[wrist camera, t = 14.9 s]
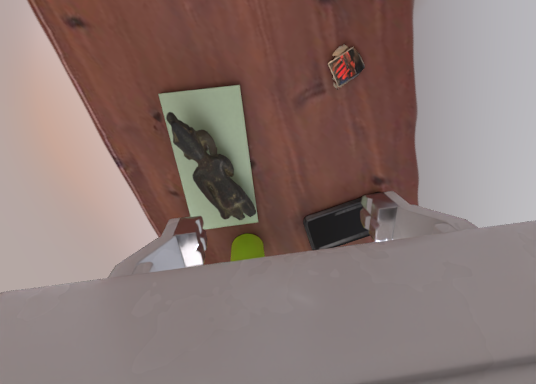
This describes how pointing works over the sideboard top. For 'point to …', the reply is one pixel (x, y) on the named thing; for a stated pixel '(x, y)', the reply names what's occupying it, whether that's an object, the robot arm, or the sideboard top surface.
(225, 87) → the board
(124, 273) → the robot arm
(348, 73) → the matchbox
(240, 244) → the soap dispenser
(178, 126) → the statue
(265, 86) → the sideboard top surface
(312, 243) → the phone
